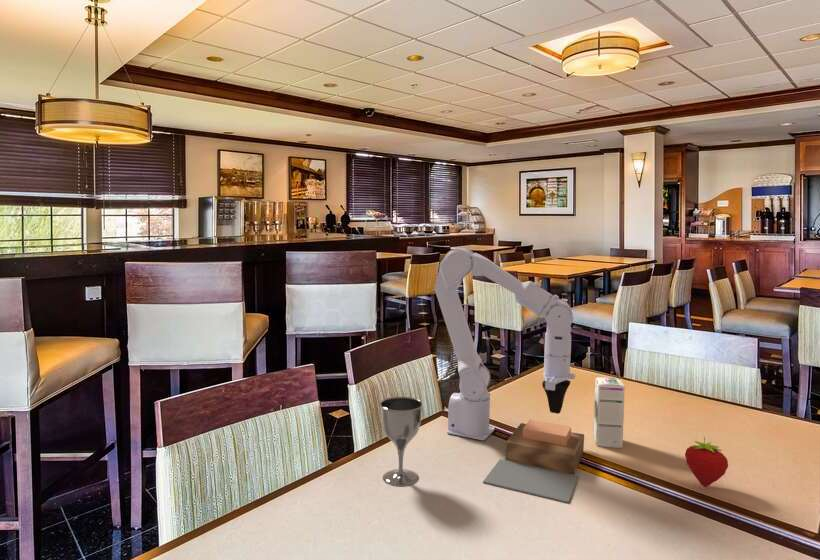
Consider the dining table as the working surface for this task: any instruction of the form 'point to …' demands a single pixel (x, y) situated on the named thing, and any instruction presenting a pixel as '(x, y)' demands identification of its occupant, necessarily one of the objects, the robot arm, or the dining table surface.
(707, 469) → the strawberry
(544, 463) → the brown box
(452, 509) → the dining table surface
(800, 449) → the dining table surface
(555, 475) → the mat
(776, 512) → the dining table surface
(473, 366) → the robot arm
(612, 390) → the syrup box
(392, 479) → the wine glass
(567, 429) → the peach rectangular box
